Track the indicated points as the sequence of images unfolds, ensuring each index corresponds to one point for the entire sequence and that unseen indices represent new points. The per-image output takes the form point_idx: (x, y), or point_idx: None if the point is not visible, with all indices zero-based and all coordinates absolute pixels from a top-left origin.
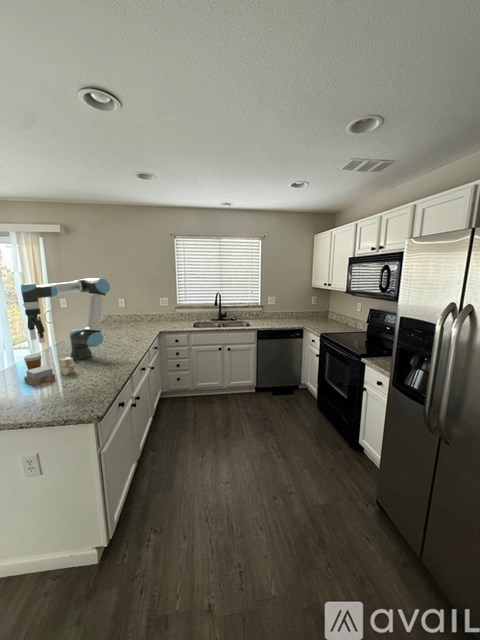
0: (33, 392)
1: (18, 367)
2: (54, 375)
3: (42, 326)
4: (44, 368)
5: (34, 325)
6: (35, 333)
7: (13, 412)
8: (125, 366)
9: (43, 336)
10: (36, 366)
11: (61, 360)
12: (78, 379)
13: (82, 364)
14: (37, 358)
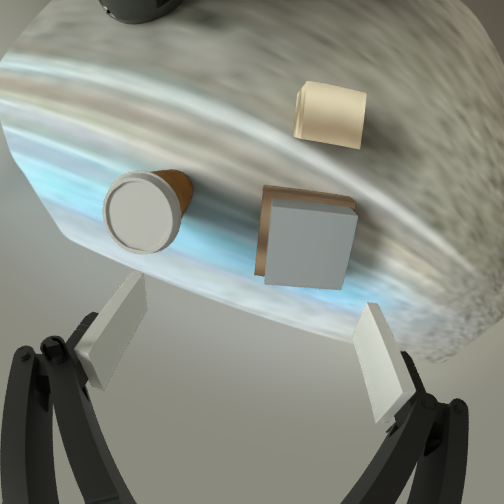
0: (381, 293)
1: (60, 199)
2: (353, 202)
3: (461, 461)
4: (320, 232)
5: (90, 428)
6: (113, 315)
7: (424, 350)
8: (458, 12)
9: (411, 360)
10: (186, 202)
11: (337, 144)
12: (432, 161)
13: (266, 21)
14: (179, 207)
